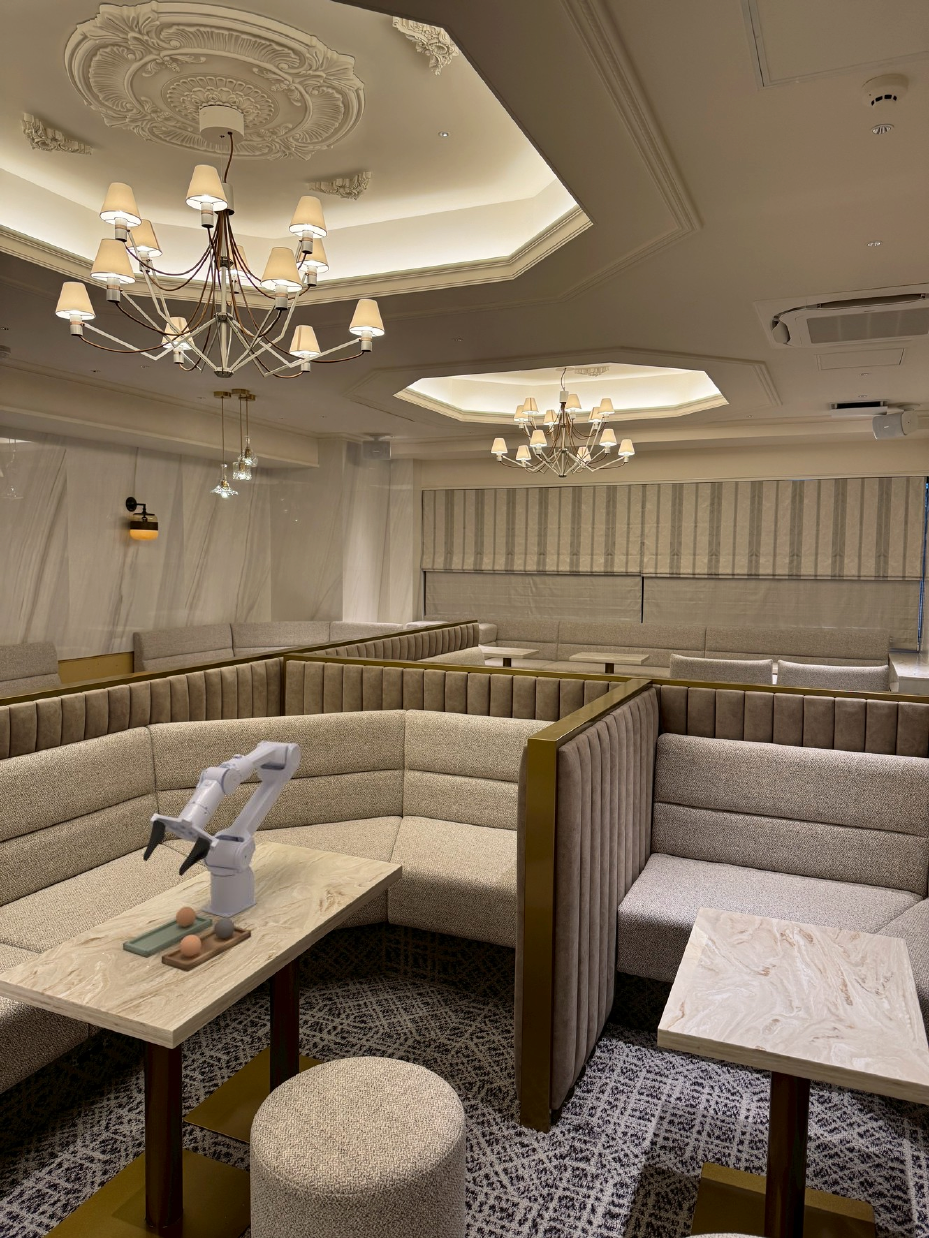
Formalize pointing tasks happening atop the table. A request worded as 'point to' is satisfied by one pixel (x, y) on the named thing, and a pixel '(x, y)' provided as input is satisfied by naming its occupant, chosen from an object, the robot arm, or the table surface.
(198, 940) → the terracotta ball
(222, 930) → the charcoal ball
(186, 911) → the terracotta ball
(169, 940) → the trough green
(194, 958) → the trough walnut
